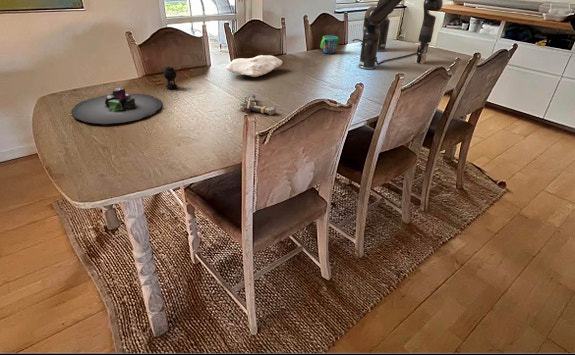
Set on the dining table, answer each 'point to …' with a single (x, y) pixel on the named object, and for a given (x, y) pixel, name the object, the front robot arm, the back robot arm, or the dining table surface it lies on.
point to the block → (421, 58)
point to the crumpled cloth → (254, 65)
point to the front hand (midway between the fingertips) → (419, 61)
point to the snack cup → (329, 44)
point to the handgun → (255, 106)
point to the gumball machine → (170, 77)
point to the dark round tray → (116, 108)
